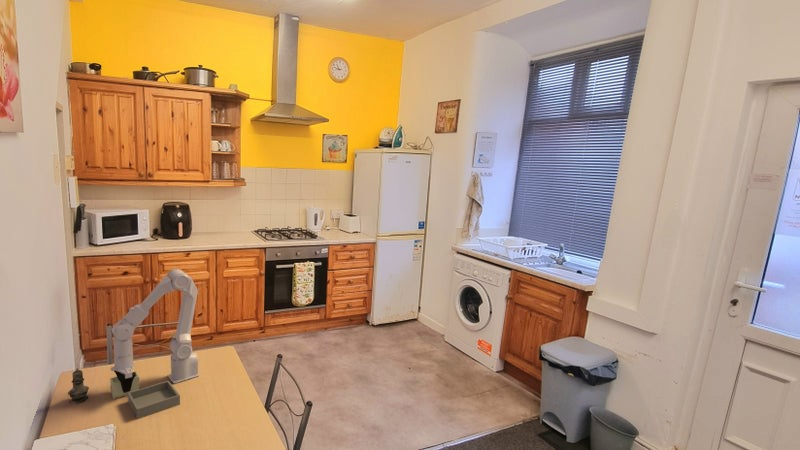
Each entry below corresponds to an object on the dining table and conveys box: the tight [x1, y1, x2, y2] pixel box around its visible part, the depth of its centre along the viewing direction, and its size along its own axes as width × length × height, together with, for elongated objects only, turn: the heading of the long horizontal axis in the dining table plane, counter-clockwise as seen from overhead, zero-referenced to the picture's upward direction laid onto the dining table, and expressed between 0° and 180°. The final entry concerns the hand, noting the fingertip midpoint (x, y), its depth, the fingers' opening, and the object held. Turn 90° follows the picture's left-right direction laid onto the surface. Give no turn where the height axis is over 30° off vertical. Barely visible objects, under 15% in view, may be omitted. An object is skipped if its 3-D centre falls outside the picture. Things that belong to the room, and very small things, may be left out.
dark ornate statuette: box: [67, 367, 90, 405], centre depth 144 cm, size 6×6×12 cm
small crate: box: [109, 371, 140, 400], centre depth 150 cm, size 8×5×6 cm, turn 135°
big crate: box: [127, 380, 181, 420], centre depth 144 cm, size 13×13×4 cm
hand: (125, 388), depth 150 cm, fingers closed on small crate, 5 cm apart
